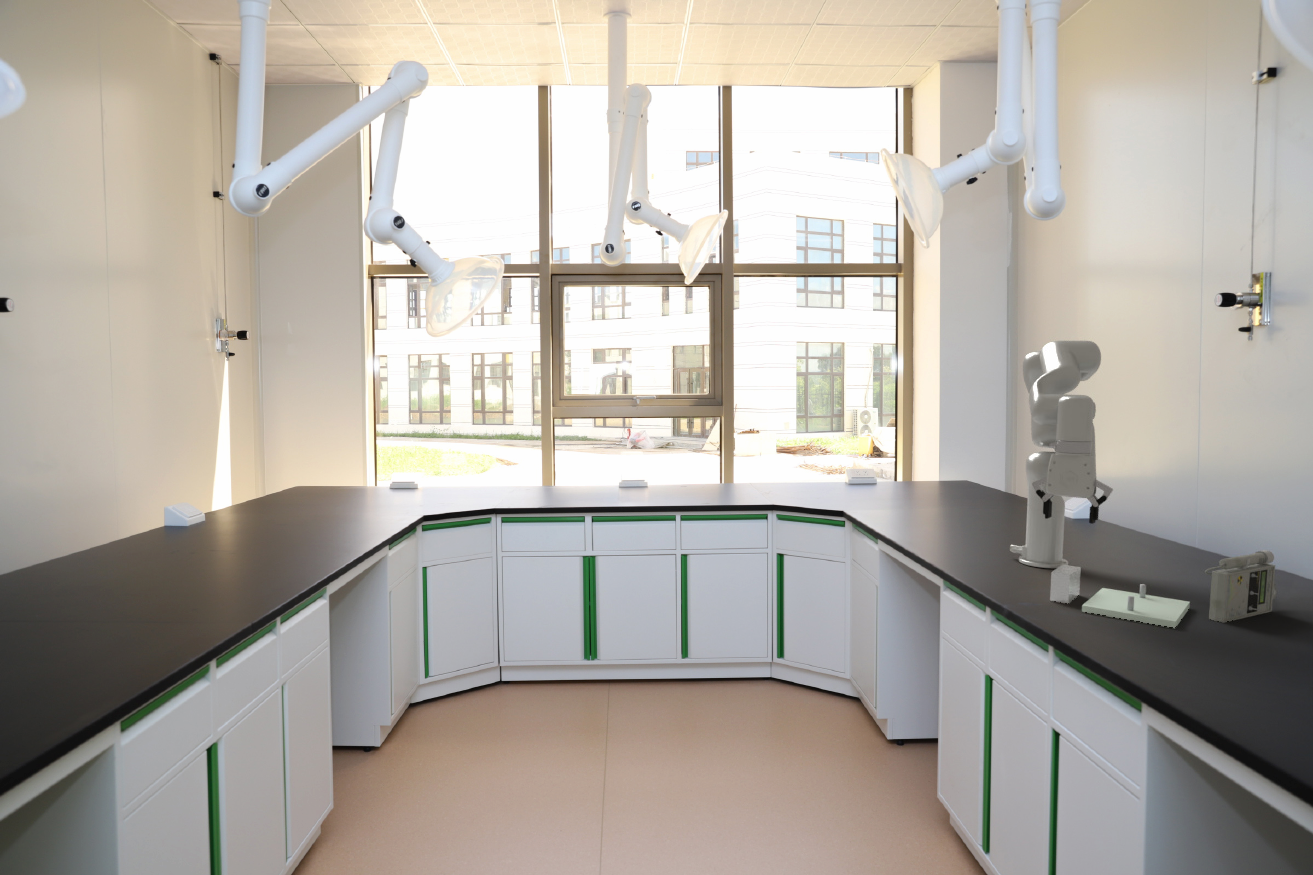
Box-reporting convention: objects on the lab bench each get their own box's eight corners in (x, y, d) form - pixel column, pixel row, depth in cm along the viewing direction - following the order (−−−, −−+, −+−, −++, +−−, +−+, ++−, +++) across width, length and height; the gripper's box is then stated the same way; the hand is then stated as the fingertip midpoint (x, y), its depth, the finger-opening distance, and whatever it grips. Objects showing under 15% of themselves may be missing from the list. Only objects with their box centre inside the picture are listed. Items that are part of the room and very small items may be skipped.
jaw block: (1049, 601, 195) (1051, 571, 194) (1061, 592, 202) (1062, 564, 202) (1068, 604, 192) (1069, 574, 192) (1079, 595, 200) (1080, 567, 199)
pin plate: (1081, 611, 186) (1082, 592, 185) (1102, 593, 201) (1103, 575, 201) (1175, 628, 174) (1176, 607, 174) (1189, 608, 190) (1190, 588, 189)
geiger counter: (1232, 560, 176) (1294, 550, 188) (1201, 554, 182) (1263, 544, 194) (1227, 624, 178) (1289, 609, 189) (1197, 616, 183) (1258, 602, 195)
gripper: (1029, 447, 197) (1026, 518, 198) (1111, 451, 186) (1107, 527, 187) (1038, 445, 203) (1035, 514, 204) (1118, 449, 192) (1114, 522, 193)
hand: (1069, 520), depth 196 cm, fingers open, 9 cm apart
